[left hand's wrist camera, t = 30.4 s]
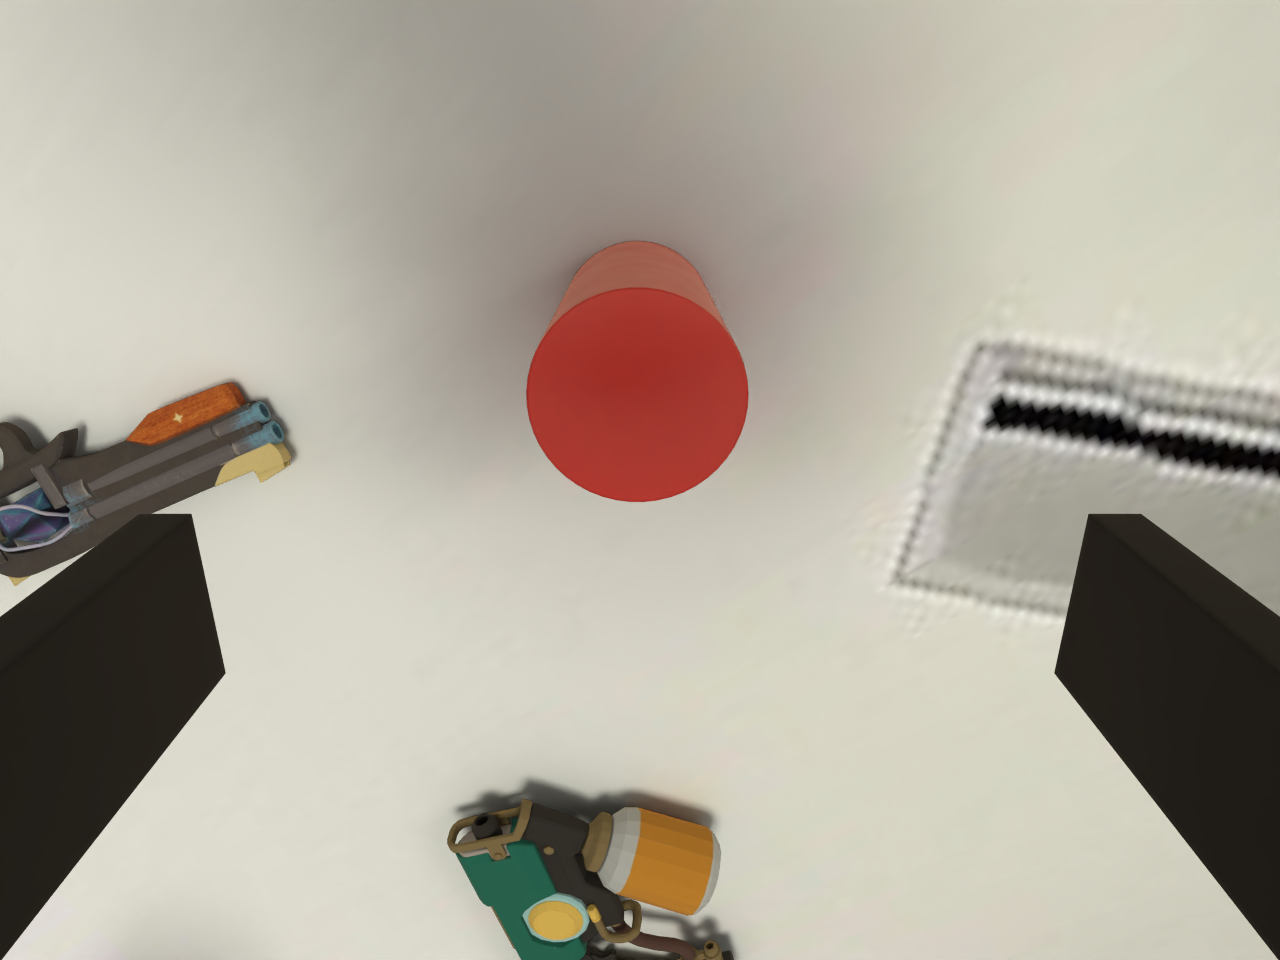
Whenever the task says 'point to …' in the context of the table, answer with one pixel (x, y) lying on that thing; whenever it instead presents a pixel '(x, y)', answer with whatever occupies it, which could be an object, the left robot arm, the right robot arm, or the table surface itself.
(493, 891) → the spray gun
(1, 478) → the toy gun
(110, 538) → the left robot arm
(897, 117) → the table surface
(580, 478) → the canister
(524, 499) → the table surface
